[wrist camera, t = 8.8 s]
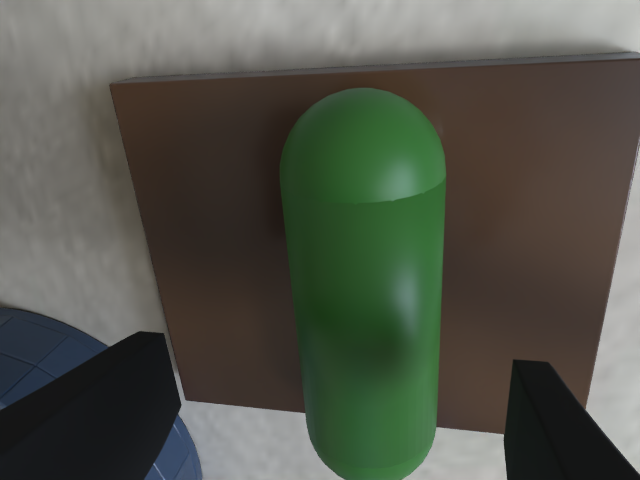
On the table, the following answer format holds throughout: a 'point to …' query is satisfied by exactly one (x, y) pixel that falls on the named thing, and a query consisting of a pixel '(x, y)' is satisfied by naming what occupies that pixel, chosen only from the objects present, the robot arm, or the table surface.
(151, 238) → the plate
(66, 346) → the bowl
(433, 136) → the cucumber
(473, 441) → the table surface
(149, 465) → the robot arm
